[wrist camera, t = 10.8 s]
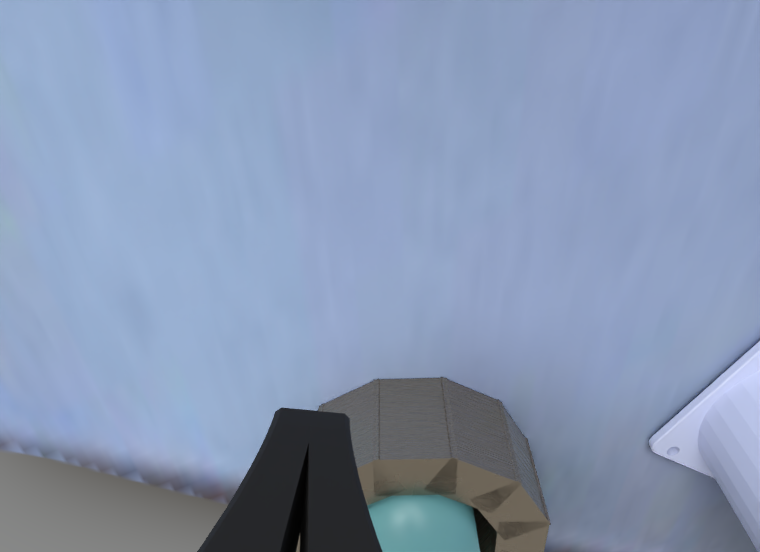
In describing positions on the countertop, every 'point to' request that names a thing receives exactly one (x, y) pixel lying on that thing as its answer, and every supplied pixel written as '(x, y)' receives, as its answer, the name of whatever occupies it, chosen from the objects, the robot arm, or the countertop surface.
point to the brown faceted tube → (447, 455)
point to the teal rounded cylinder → (424, 524)
